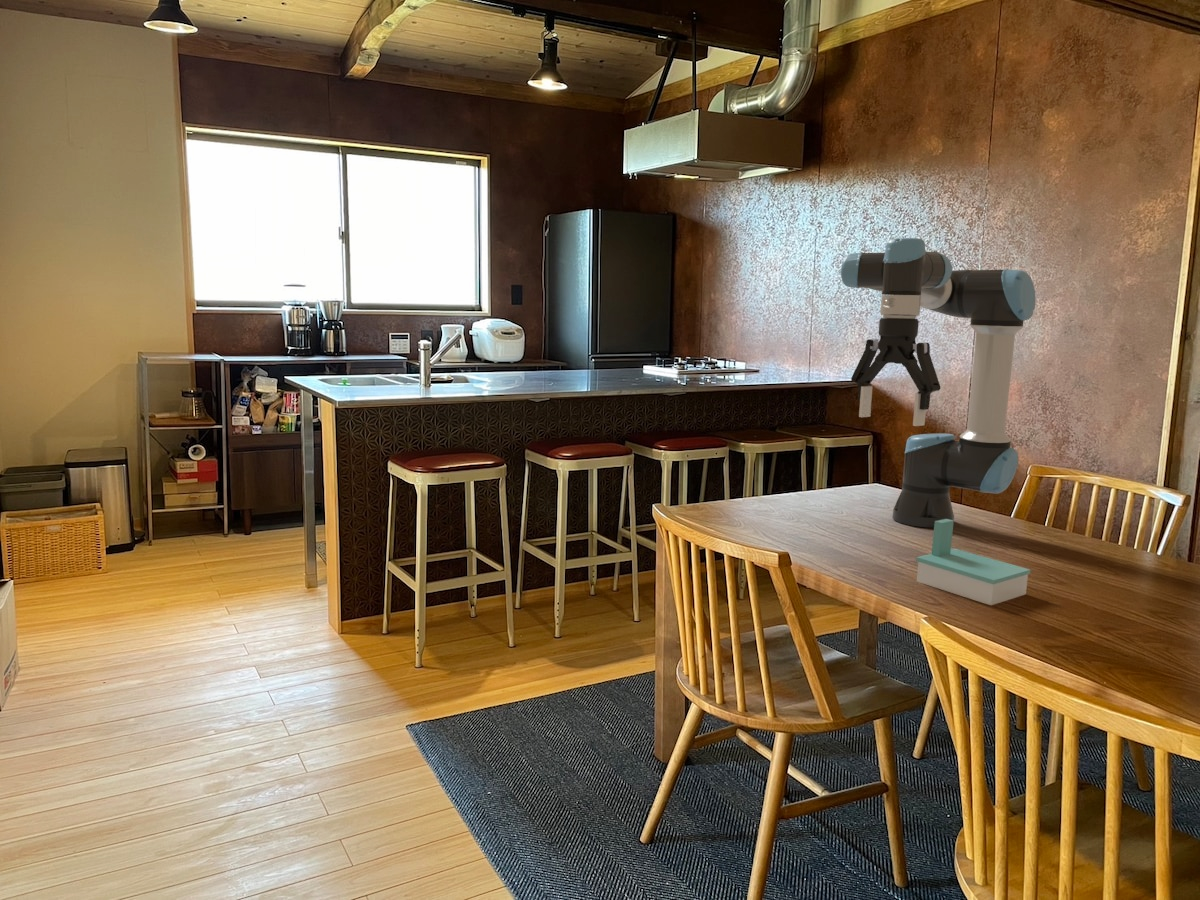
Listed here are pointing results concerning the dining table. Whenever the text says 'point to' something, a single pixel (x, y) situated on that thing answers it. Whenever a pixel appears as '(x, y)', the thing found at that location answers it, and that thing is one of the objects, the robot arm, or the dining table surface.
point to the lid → (966, 559)
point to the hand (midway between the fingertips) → (890, 421)
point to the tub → (971, 585)
